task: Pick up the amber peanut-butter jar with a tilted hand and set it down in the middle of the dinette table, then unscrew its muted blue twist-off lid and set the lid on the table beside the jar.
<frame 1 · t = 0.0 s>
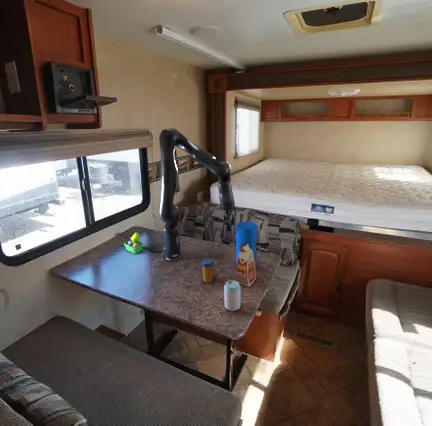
hand: (231, 228, 154), 22 cm above the table, tool pointing down, fingers open, 8 cm apart
thermos: (245, 266, 159), on the table
jar lid: (207, 261, 143), point 11 cm above the table, screwed on, not yet turned
fruit basket: (135, 250, 182), on the table
milk carton: (244, 280, 146), on the table
jar: (208, 279, 147), on the table
can: (232, 307, 126), on the table
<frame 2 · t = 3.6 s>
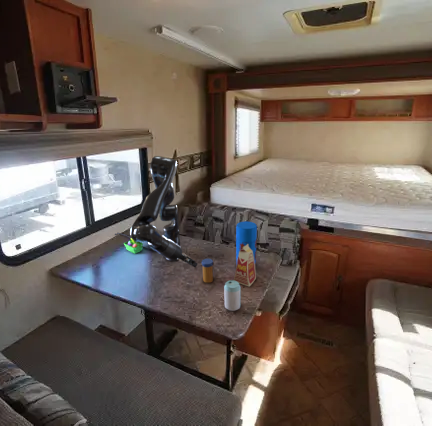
hand: (190, 262, 134), 15 cm above the table, tool tilted 45°, fingers open, 8 cm apart
nothing on the table moved.
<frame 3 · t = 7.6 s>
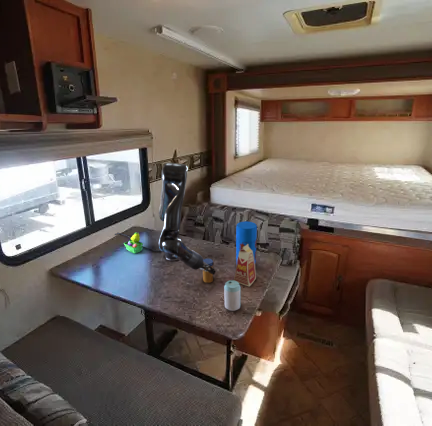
hand: (210, 270, 147), 5 cm above the table, tool tilted 45°, fingers closed on jar, 5 cm apart
jar: (208, 279, 147), on the table, touching gripper
everything else where it was.
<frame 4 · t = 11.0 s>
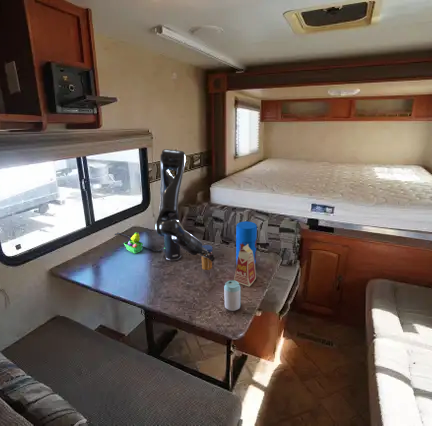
hand: (209, 257, 141), 14 cm above the table, tool tilted 45°, fingers closed on jar, 5 cm apart
jar lid: (206, 248, 138), point 20 cm above the table, screwed on, not yet turned
jar: (207, 267, 141), point 9 cm above the table, touching gripper
everything else where it was.
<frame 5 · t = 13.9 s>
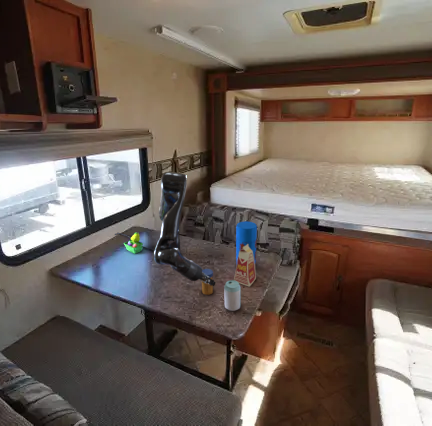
hand: (209, 281, 137), 5 cm above the table, tool tilted 45°, fingers closed on jar, 5 cm apart
jar lid: (206, 272, 134), point 11 cm above the table, screwed on, not yet turned
jar: (207, 291, 138), on the table, touching gripper
everything else where it was.
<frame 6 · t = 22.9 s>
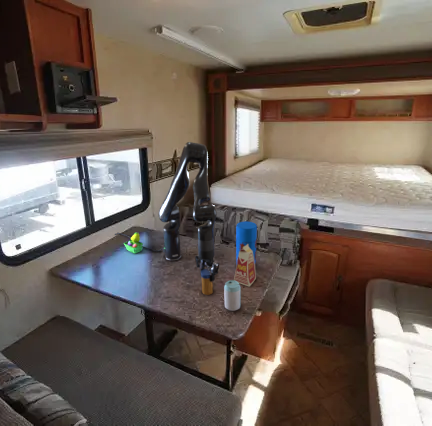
hand: (207, 278, 135), 7 cm above the table, tool pointing down, fingers closed on jar lid, 5 cm apart
jar lid: (206, 272, 134), point 11 cm above the table, screwed on, not yet turned, touching gripper
jar: (207, 291, 138), on the table
everything else where it was.
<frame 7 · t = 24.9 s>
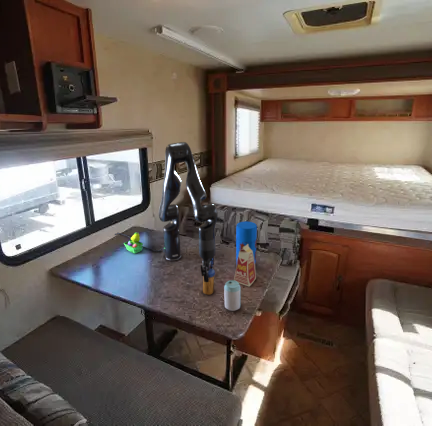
hand: (208, 278, 135), 7 cm above the table, tool pointing down, fingers closed on jar lid, 5 cm apart
jar lid: (208, 271, 134), point 11 cm above the table, off its thread, touching gripper
jar: (208, 291, 137), on the table, touching gripper
everything else where it was.
when the fingers open (2 cm above the table, at t = 32.1 s): jar lid drops 4 cm, point 1 cm above the table.
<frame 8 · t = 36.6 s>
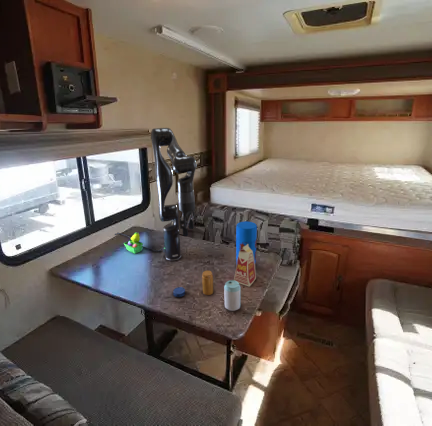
hand: (188, 232, 136), 28 cm above the table, tool pointing down, fingers open, 8 cm apart
jar lid: (179, 291, 136), point 1 cm above the table, off its thread
jar: (208, 291, 137), on the table
everything else where it was.
at the end: jar inside the target area (0.4 cm from its centre), on the table; jar lid point 1.5 cm above the table; the gripper is holding nothing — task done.
